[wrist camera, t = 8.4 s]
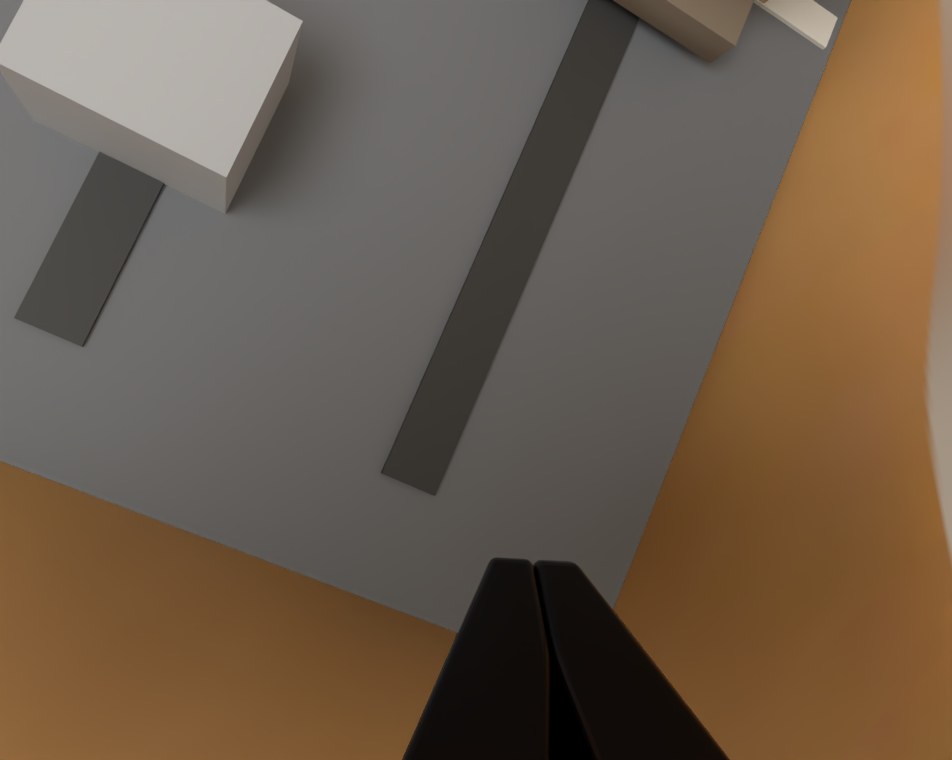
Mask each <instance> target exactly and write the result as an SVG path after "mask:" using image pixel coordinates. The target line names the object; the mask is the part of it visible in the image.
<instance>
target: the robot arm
mask: <svg viewBox="0 0 952 760" xmlns="http://www.w3.org/2000/svg"><path fill="white" fill-rule="evenodd" d="M402 760H730V759H729V758H728V756H727V755H726V754H725V753H724V751H723V750H722V749H721V747H720V746H719V745H718V744H717V742H716V741H715V740H714V739H713V737H712V736H711V735H710V733H709V732H708V731H707V730H706V728H705V727H704V726H703V724H702V723H701V722H700V721H699V719H698V718H697V717H696V715H695V714H694V713H693V712H692V710H691V709H690V708H689V706H688V705H687V704H686V703H685V701H684V700H683V699H682V697H681V696H680V695H679V694H678V692H677V691H676V690H675V688H674V687H673V686H672V685H671V683H670V682H669V681H668V679H667V678H666V677H665V676H664V674H663V673H662V672H661V670H660V669H659V668H658V667H657V665H656V664H655V663H654V662H653V660H652V659H651V658H650V656H649V655H648V654H647V653H646V651H645V650H644V649H643V647H642V646H641V645H640V644H639V642H638V641H637V640H636V638H635V637H634V636H633V635H632V633H631V632H630V631H629V629H628V628H627V627H626V626H625V624H624V623H623V622H622V620H621V619H620V618H619V617H618V615H617V614H616V613H615V611H614V610H613V609H612V608H611V606H610V605H609V604H608V602H607V601H606V600H605V599H604V597H603V596H602V595H601V594H600V592H599V591H598V590H597V588H596V587H595V586H594V585H593V583H592V582H591V581H590V579H589V578H588V577H587V576H586V574H585V573H584V572H583V570H582V569H581V568H580V567H579V566H578V565H577V564H575V563H574V562H570V561H554V560H538V561H537V562H535V563H534V565H533V564H532V563H531V561H529V560H528V559H520V558H502V557H495V558H493V559H491V560H490V561H489V563H488V565H487V567H486V570H485V572H484V574H483V576H482V579H481V581H480V583H479V586H478V588H477V590H476V592H475V595H474V597H473V599H472V602H471V604H470V606H469V608H468V611H467V613H466V615H465V617H464V620H463V622H462V624H461V627H460V629H459V631H458V633H457V636H456V638H455V640H454V643H453V645H452V647H451V649H450V652H449V654H448V656H447V659H446V661H445V663H444V665H443V668H442V670H441V672H440V674H439V677H438V679H437V681H436V684H435V686H434V688H433V690H432V693H431V695H430V697H429V700H428V702H427V704H426V706H425V709H424V711H423V713H422V716H421V718H420V720H419V722H418V725H417V727H416V729H415V731H414V734H413V736H412V738H411V741H410V743H409V745H408V747H407V750H406V752H405V754H404V757H403V759H402Z"/></svg>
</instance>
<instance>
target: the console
mask: <svg viewBox="0 0 952 760" xmlns="http://www.w3.org/2000/svg"><path fill="white" fill-rule="evenodd" d="M850 2H851V0H768V1H767V2H766V3H762V2H761V1H759V0H754V2H753V4H752V7H751V9H750V11H749V14H748V16H747V19H746V21H745V24H744V26H743V29H742V31H741V33H740V36H739V38H738V41H737V43H736V46H735V47H733V48H732V49H730V50H729V51H727V52H726V53H724V54H722V55H721V56H719V57H718V58H716V59H715V60H713V61H712V62H710V63H709V62H707V61H706V60H704V59H703V58H701V57H700V56H698V55H697V54H695V53H694V52H692V51H690V50H689V49H687V48H686V47H684V46H683V45H681V44H680V43H678V42H677V41H675V40H673V39H672V38H670V37H669V36H667V35H666V34H664V33H663V32H661V31H660V30H658V29H656V28H655V27H653V26H652V25H650V24H649V23H647V22H646V21H644V20H642V19H641V18H639V17H638V16H636V15H635V14H633V13H632V12H630V11H629V10H627V9H625V8H624V7H622V6H621V5H619V4H618V3H616V2H615V1H613V0H0V461H1V462H4V463H7V464H9V465H12V466H15V467H17V468H20V469H22V470H25V471H28V472H30V473H33V474H36V475H38V476H41V477H44V478H46V479H49V480H52V481H54V482H57V483H60V484H62V485H65V486H68V487H70V488H73V489H76V490H78V491H81V492H84V493H86V494H89V495H92V496H94V497H97V498H100V499H102V500H105V501H108V502H110V503H113V504H116V505H118V506H121V507H124V508H126V509H129V510H132V511H134V512H137V513H140V514H142V515H145V516H147V517H150V518H153V519H155V520H158V521H161V522H163V523H166V524H169V525H171V526H174V527H177V528H179V529H182V530H185V531H187V532H190V533H193V534H195V535H198V536H201V537H203V538H206V539H209V540H211V541H214V542H217V543H219V544H222V545H225V546H227V547H230V548H233V549H235V550H238V551H241V552H243V553H246V554H249V555H251V556H254V557H257V558H259V559H262V560H265V561H267V562H270V563H272V564H275V565H278V566H280V567H283V568H286V569H288V570H291V571H294V572H296V573H299V574H302V575H304V576H307V577H310V578H312V579H315V580H318V581H320V582H323V583H326V584H328V585H331V586H334V587H336V588H339V589H342V590H344V591H347V592H350V593H352V594H355V595H358V596H360V597H363V598H366V599H368V600H371V601H374V602H376V603H379V604H382V605H384V606H387V607H390V608H392V609H395V610H397V611H400V612H403V613H405V614H408V615H411V616H413V617H416V618H419V619H421V620H424V621H427V622H429V623H432V624H435V625H437V626H440V627H443V628H445V629H448V630H451V631H453V632H456V633H458V631H459V629H460V627H461V624H462V622H463V620H464V617H465V615H466V613H467V611H468V608H469V606H470V604H471V602H472V599H473V597H474V595H475V592H476V590H477V588H478V586H479V583H480V581H481V579H482V576H483V574H484V572H485V570H486V567H487V565H488V563H489V561H490V560H491V559H493V558H495V557H502V558H520V559H528V560H529V561H531V563H532V564H533V565H534V563H535V562H537V561H538V560H554V561H570V562H574V563H575V564H577V565H578V566H579V567H580V568H581V569H582V570H583V572H584V573H585V574H586V576H587V577H588V578H589V579H590V581H591V582H592V583H593V585H594V586H595V587H596V588H597V590H598V591H599V592H600V594H601V595H602V596H603V597H604V599H605V600H606V601H607V602H608V604H609V605H610V606H611V608H612V609H614V607H615V604H616V602H617V599H618V596H619V594H620V591H621V589H622V586H623V584H624V581H625V578H626V576H627V573H628V571H629V568H630V566H631V563H632V561H633V558H634V555H635V553H636V550H637V548H638V545H639V543H640V540H641V538H642V535H643V532H644V530H645V527H646V525H647V522H648V520H649V517H650V514H651V512H652V509H653V507H654V504H655V502H656V499H657V497H658V494H659V491H660V489H661V486H662V484H663V481H664V479H665V476H666V474H667V471H668V468H669V466H670V463H671V461H672V458H673V456H674V453H675V450H676V448H677V445H678V443H679V440H680V438H681V435H682V433H683V430H684V427H685V425H686V422H687V420H688V417H689V415H690V412H691V410H692V407H693V404H694V402H695V399H696V397H697V394H698V392H699V389H700V386H701V384H702V381H703V379H704V376H705V374H706V371H707V369H708V366H709V363H710V361H711V358H712V356H713V353H714V351H715V348H716V345H717V343H718V340H719V338H720V335H721V333H722V330H723V328H724V325H725V322H726V320H727V317H728V315H729V312H730V310H731V307H732V305H733V302H734V299H735V297H736V294H737V292H738V289H739V287H740V284H741V281H742V279H743V276H744V274H745V271H746V269H747V266H748V264H749V261H750V258H751V256H752V253H753V251H754V248H755V246H756V243H757V241H758V238H759V235H760V233H761V230H762V228H763V225H764V223H765V220H766V217H767V215H768V212H769V210H770V207H771V205H772V202H773V200H774V197H775V194H776V192H777V189H778V187H779V184H780V182H781V179H782V177H783V174H784V171H785V169H786V166H787V164H788V161H789V159H790V156H791V153H792V151H793V148H794V146H795V143H796V141H797V138H798V136H799V133H800V130H801V128H802V125H803V123H804V120H805V118H806V115H807V113H808V110H809V107H810V105H811V102H812V100H813V97H814V95H815V92H816V89H817V87H818V84H819V82H820V79H821V77H822V74H823V72H824V69H825V66H826V64H827V61H828V59H829V56H830V54H831V51H832V49H833V46H834V43H835V41H836V38H837V36H838V33H839V31H840V28H841V25H842V23H843V20H844V18H845V15H846V13H847V10H848V8H849V5H850Z"/></svg>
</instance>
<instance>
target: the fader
mask: <svg viewBox="0 0 952 760" xmlns="http://www.w3.org/2000/svg"><path fill="white" fill-rule="evenodd" d="M613 1H615V2H616V3H618V4H619V5H621V6H622V7H624V8H625V9H627V10H629V11H630V12H632V13H633V14H635V15H636V16H638V17H639V18H641V19H642V20H644V21H646V22H647V23H649V24H650V25H652V26H653V27H655V28H656V29H658V30H660V31H661V32H663V33H664V34H666V35H667V36H669V37H670V38H672V39H673V40H675V41H677V42H678V43H680V44H681V45H683V46H684V47H686V48H687V49H689V50H690V51H692V52H694V53H695V54H697V55H698V56H700V57H701V58H703V59H704V60H706V61H707V62H709V63H710V62H712V61H713V60H715V59H716V58H718V57H719V56H721V55H722V54H724V53H726V52H727V51H729V50H730V49H732V48H733V47H735V46H736V43H737V41H738V38H739V36H740V33H741V31H742V29H743V26H744V24H745V21H746V19H747V16H748V14H749V11H750V9H751V7H752V4H753V2H754V0H613ZM759 1H761V2H762V3H766V2H767V1H768V0H759Z"/></svg>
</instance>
